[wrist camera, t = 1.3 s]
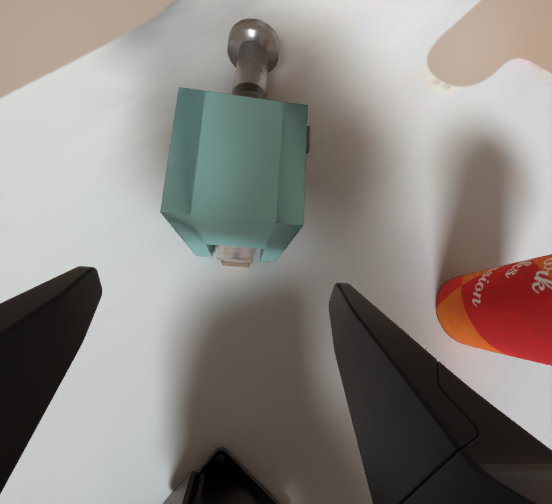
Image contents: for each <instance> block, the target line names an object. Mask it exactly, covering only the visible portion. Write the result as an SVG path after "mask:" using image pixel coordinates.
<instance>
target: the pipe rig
mask: <svg viewBox="0 0 552 504" xmlns="http://www.w3.org/2000/svg"><path fill="white" fill-rule="evenodd" d="M278 55H279V40H278V37H277V35H276V33H275V31H274V30H273V29H272V28H271V27H270V26H269V25H268V24H266V23H265V22H263V21H260V20H257V19H244V20H241V21H239V22H238V23H236V24H235V25H234V26H233V28H232V29H231V31H230V34H229V40H228V56H229V59H230V61H231V62H232V64H233V65H234V66H235V67H236V75H235V85H234V88H233V91H232V95H238V96H245V97H252V98H259V99H266V100H267V95H266V81H267V73H268V72H270V71H271V70H272V69H273V68H274V67H275V66H276V64H277V62H278ZM309 127H310V126H307V140H306V153H308V151H309ZM217 259H219V260H221V262H222V265H227V266H241V267H249V265H250V262H253V259H254V248H246V247H234V246H222V245H218V254H217Z"/></svg>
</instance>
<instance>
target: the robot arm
mask: <svg viewBox="0 0 552 504" xmlns="http://www.w3.org/2000/svg"><path fill="white" fill-rule="evenodd" d="M101 296H102V286H101V283H100V279H99V276H98V272H97V270H96V268H94V267H85V266H79V267H76V268H74V269H72V270H70V271H68V272H66V273H64V274H62V275H60V276H57V277H55V278H53V279H51V280H49V281H47V282H45V283H43V284H41V285H38V286H36V287H34V288H32V289H30V290H28V291H26V292H24V293H22V294H20V295H17V296H15V297H13V298H11V299H9V300H7V301H5V302H3V303H1V304H0V494H1V492H2V490H3V488H4V486H5V484H6V483H7V481H8V479H9V477H10V475H11V473H12V472H13V470H14V468H15V466H16V464H17V462H18V460H19V459H20V457H21V455H22V453H23V451H24V449H25V448H26V446H27V444H28V442H29V440H30V438H31V437H32V435H33V433H34V431H35V429H36V427H37V426H38V424H39V422H40V420H41V418H42V416H43V415H44V413H45V411H46V409H47V407H48V405H49V404H50V402H51V400H52V398H53V396H54V394H55V393H56V391H57V389H58V387H59V385H60V383H61V382H62V380H63V378H64V376H65V374H66V372H67V371H68V369H69V367H70V365H71V363H72V361H73V360H74V358H75V356H76V354H77V352H78V350H79V348H80V346H81V345H82V343H83V340H84V338H85V336H86V333H87V331H88V328H89V326H90V323H91V321H92V319H93V316H94V314H95V311H96V309H97V306H98V304H99V301H100V299H101ZM329 313H330V321H331V328H332V336H333V343H334V350H335V355H336V359H337V363H338V367H339V371H340V375H341V379H342V383H343V387H344V391H345V395H346V399H347V403H348V407H349V411H350V415H351V419H352V423H353V426H354V430H355V434H356V438H357V442H358V446H359V450H360V454H361V458H362V462H363V466H364V470H365V474H366V478H367V482H368V486H369V490H370V494H371V498H372V502H373V504H552V450H551V449H549V448H548V447H547V446H545V445H544V444H543V443H541V442H540V441H539V440H537V439H536V438H535V437H533V436H532V435H531V434H530V433H528V432H527V431H526V430H524V429H523V428H522V427H520V426H519V425H518V424H516V423H515V422H514V421H512V420H511V419H510V418H509V417H507V416H506V415H505V414H503V413H502V412H501V411H499V410H498V409H497V408H495V407H494V406H493V405H491V404H490V403H489V402H488V401H486V400H485V399H484V398H483V397H481V396H480V395H479V394H477V393H476V392H475V391H474V390H472V389H471V388H470V387H469V386H467V385H466V384H465V383H464V382H463V381H461V380H460V379H459V378H458V377H457V376H455V375H454V374H453V373H452V372H451V371H449V370H448V369H447V368H446V367H445V366H444V365H443V364H441V363H440V362H437V360H436V359H435V358H434V357H433V356H432V355H431V354H430V353H429V352H427V351H426V350H425V349H424V348H423V347H422V346H420V345H419V344H418V343H417V342H416V341H415V340H413V339H412V338H411V337H410V336H409V335H408V334H407V333H405V332H404V331H403V330H402V329H401V328H400V327H398V326H397V325H396V324H395V323H394V322H393V321H391V320H390V319H389V318H388V317H387V316H386V315H384V314H383V313H382V312H381V311H380V310H379V309H378V308H376V307H375V306H374V305H373V304H372V303H371V302H369V301H368V300H367V299H366V298H365V297H364V296H362V295H361V294H360V293H359V292H358V291H357V290H356V289H354V288H353V287H352V286H351V285H350V284H348V283H336V284H335V285H334V288H333V291H332V295H331V298H330V301H329ZM218 455H223V456H224V459H223V460H218V458H217V456H218ZM164 504H280V503H279V502H278V501H277V500H276V499H275V498H274V497H273V496H272V495H271V494H270V493H269V492H268V491H267V490H266V489H265V488H264V487H263V486H262V485H261V484H260V483H259V482H258V481H257V480H256V479H255V478H254V477H253V476H252V475H251V474H250V473H249V472H248V471H247V470H246V469H245V468H244V467H243V466H242V465H241V464H240V463H239V462H238V461H237V460H236V459H235V458H234V457H233V456H232V455H231V454H230V453H229V452H228V451H227V450H226V449H225V448H218V449H217V450H215V452H214V453H213V454H212V455H211V456H210V458H209V459H208V460H207V461H206V462H205V463H204V465H203V466H202V467H201V468H200V469H199V470H198V472H197V471H196V470H195V471H191V472H190V473H189V474H188V475H187V477H186V478H185V479H184V480H183V481H182V483H181V484H180V485H179V486H178V487H177V488H176V490H175V491H174V492H173V493H172V494H171V495H170V497H169V498H168V499H167V500H166V501H165V502H164Z"/></svg>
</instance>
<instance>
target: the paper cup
mask: <svg viewBox="0 0 552 504" xmlns="http://www.w3.org/2000/svg"><path fill="white" fill-rule="evenodd" d="M436 313H437V317H438V320H439V322H440V324H441V326H442V328H443V329H444V331H445V332H446V333H447V334H448V335H449V336H450V337H451V338H453V339H454V340H456V341H458V342H460V343H462V344H465V345H468V346H472V347H476V348H480V349H484V350H488V351H492V352H496V353H500V354H504V355H509V356H513V357H517V358H521V359H526V360H530V361H534V362H538V363H543V364H547V365H551V366H552V254H551V255H547V256H542V257H538V258H534V259H529V260H525V261H521V262H516V263H512V264H508V265H504V266H499V267H495V268H491V269H487V270H483V271H478V272H474V273H470V274H467V275H463V276H459V277H456V278H453V279H451V280H449V281H448V282H446V283H445V284H444V285H443V286H442V287H441V289H440V291H439V293H438V295H437V299H436Z"/></svg>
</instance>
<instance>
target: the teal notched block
mask: <svg viewBox="0 0 552 504" xmlns="http://www.w3.org/2000/svg"><path fill="white" fill-rule="evenodd" d="M307 113H308V105H301V104H294V103H287V102H280V101H273V100H266V99H259V98H252V97H245V96H238V95H231V94H224V93H217V92H210V91H203V90H196V89H189V88H181V87H179V90H178V97H177V103H176V110H175V117H174V123H173V130H172V137H171V144H170V150H169V157H168V164H167V171H166V177H165V184H164V191H163V198H162V204H161V211H160V212H161V213H162V215H163V216H164V217H165V218H166V220H167V221H168V222H169V223H170V224H171V226H172V227H173V228H174V229H175V231H176V232H177V233H178V234H179V236H180V237H181V238H182V239H183V241H184V242H185V243H186V244H187V245H188V247H189V248H190V249H191V250H192V252H193V253H194V254H195V255H196V256H207V257H212V253H213V245H222V246H234V247H246V248H259V249H261V255H260V261H272V262H276V261H277V259H278V258H279V257H280V255H281V254H282V253H283V251H284V250H285V249H286V248H287V246H288V245H289V244H290V242H291V241H292V240H293V238H294V237H295V236H296V234H297V233H298V232H299V230H300V229H301V228H302V226H303V223H304V195H305V168H306V140H307Z"/></svg>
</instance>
